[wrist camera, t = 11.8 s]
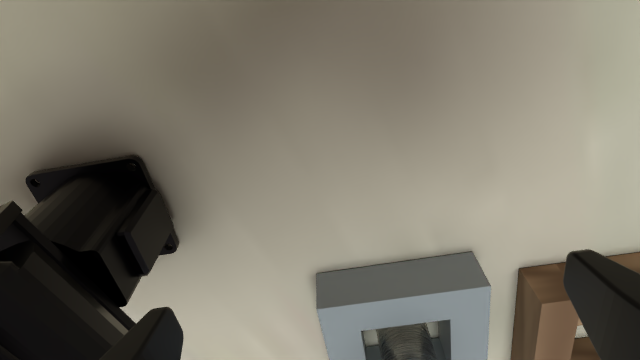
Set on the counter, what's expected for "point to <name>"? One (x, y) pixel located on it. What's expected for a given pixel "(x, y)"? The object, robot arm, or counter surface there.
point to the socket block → (407, 305)
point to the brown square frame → (551, 315)
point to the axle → (406, 343)
